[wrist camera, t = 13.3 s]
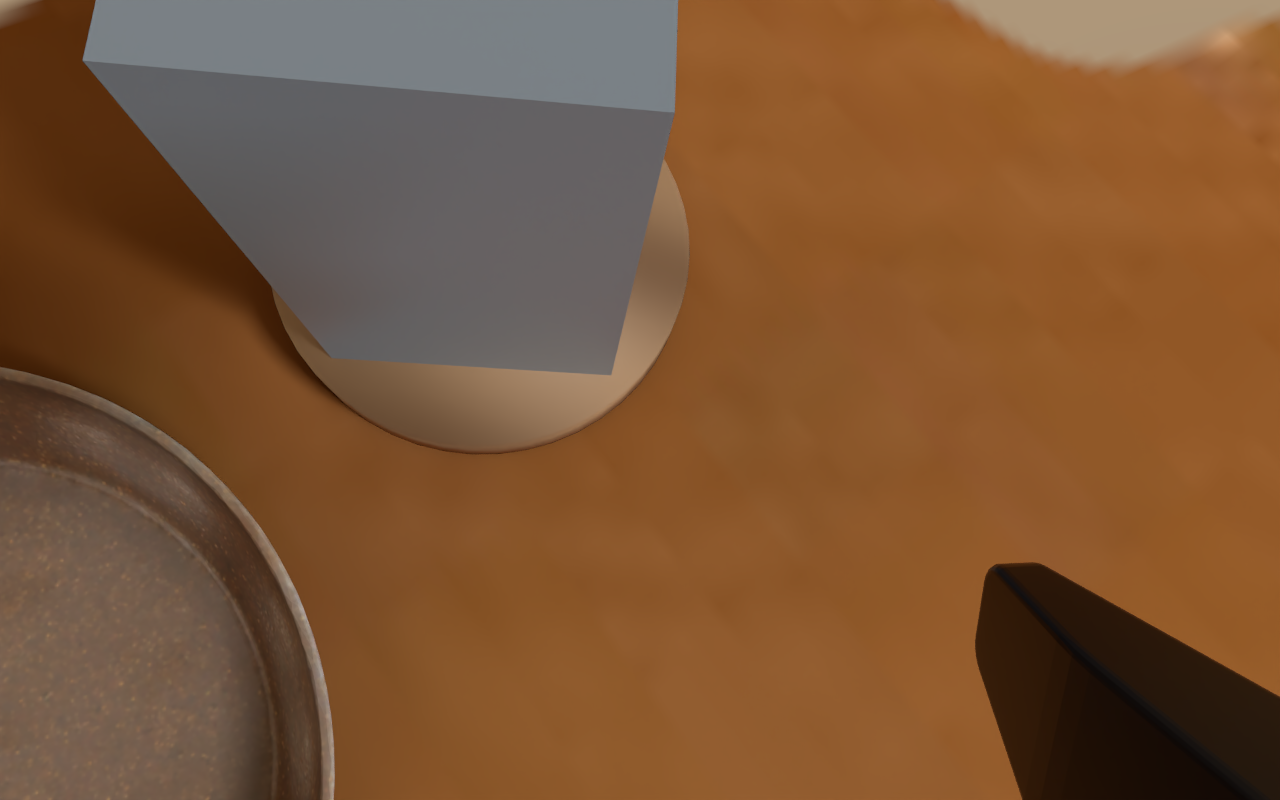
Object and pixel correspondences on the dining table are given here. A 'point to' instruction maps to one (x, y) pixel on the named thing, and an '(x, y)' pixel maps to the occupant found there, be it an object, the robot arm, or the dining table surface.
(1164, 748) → the robot arm
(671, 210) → the post stand
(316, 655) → the plant saucer
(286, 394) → the dining table surface
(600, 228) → the tall grey-blue carton
